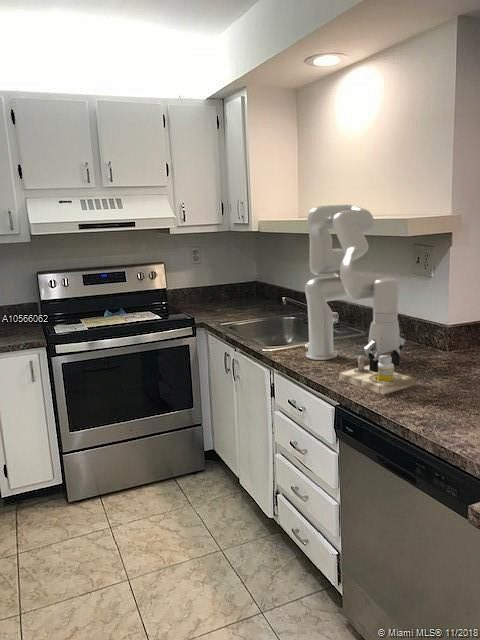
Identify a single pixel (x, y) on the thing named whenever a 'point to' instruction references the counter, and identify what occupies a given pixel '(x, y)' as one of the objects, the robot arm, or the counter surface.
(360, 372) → the plate
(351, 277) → the robot arm
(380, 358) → the supplement bottle
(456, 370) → the counter surface
